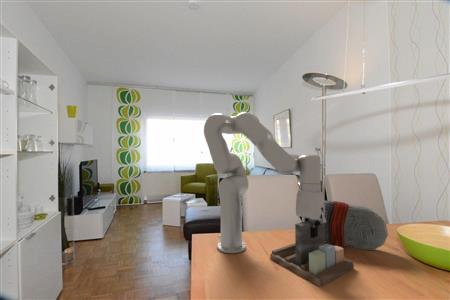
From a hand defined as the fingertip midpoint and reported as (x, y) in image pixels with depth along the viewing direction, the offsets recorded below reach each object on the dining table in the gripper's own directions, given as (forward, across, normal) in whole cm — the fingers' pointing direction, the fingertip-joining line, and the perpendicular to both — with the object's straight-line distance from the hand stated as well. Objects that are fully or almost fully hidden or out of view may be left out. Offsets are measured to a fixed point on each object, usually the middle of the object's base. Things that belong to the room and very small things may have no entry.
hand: (310, 235), depth 86 cm
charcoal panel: (+11, 0, 0) cm, 11 cm away
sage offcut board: (+11, +7, -6) cm, 14 cm away
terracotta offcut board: (+11, +7, +6) cm, 14 cm away
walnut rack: (+11, 0, 0) cm, 11 cm away
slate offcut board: (+11, +7, 0) cm, 13 cm away
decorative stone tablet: (+11, -2, +27) cm, 29 cm away
